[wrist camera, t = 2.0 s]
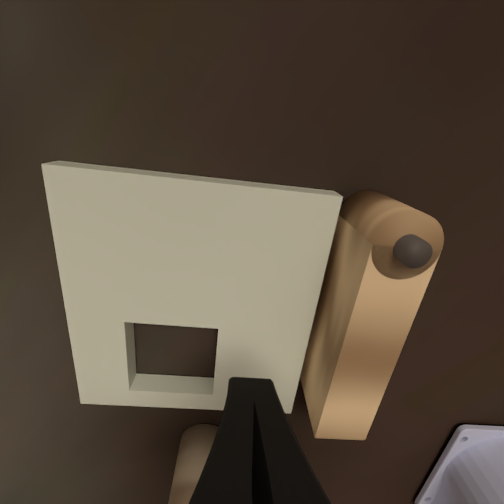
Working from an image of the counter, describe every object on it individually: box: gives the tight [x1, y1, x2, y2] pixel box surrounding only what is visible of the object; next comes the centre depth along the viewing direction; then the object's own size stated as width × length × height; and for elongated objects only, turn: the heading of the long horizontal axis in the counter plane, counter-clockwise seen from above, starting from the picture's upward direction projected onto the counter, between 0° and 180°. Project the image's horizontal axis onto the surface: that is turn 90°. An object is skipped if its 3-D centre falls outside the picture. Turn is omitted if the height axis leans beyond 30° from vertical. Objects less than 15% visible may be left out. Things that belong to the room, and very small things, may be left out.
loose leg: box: [168, 424, 218, 504], centre depth 16 cm, size 3×3×7 cm
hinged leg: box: [300, 190, 444, 440], centre depth 13 cm, size 11×2×5 cm, turn 173°
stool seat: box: [41, 161, 343, 413], centre depth 15 cm, size 13×12×1 cm
